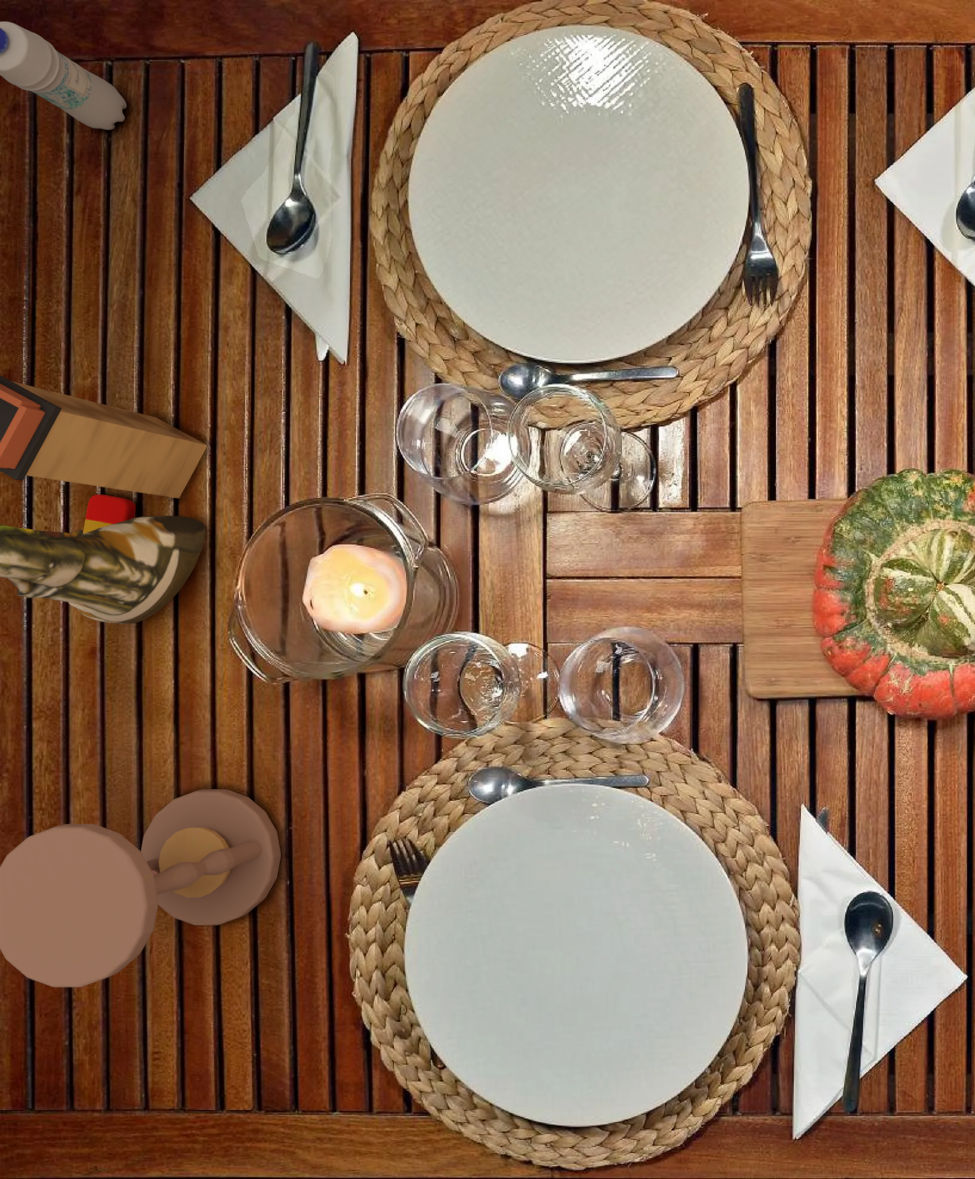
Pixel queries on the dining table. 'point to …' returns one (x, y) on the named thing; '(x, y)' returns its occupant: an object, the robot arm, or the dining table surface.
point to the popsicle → (107, 511)
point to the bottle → (57, 78)
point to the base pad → (22, 427)
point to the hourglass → (131, 885)
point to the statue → (105, 565)
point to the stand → (114, 448)
